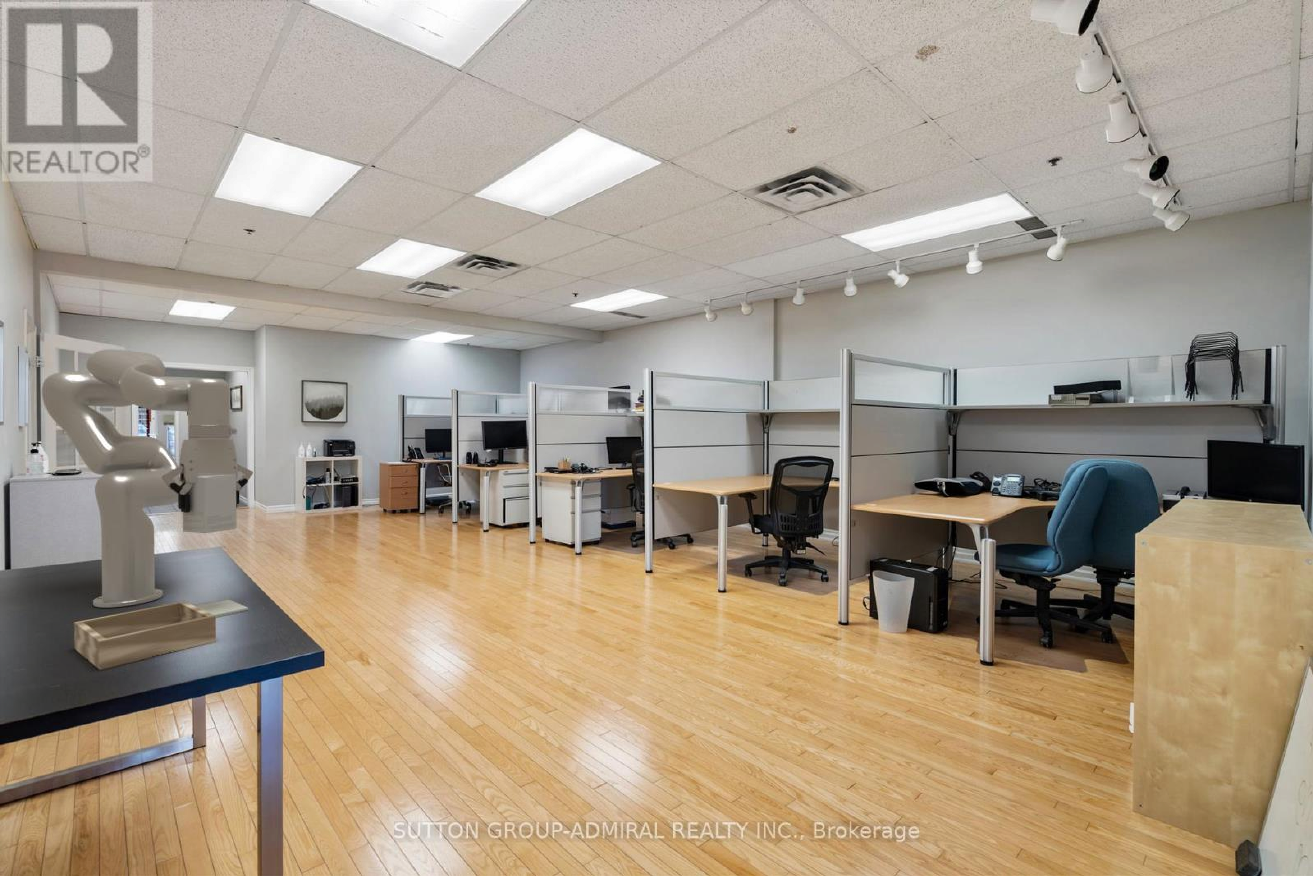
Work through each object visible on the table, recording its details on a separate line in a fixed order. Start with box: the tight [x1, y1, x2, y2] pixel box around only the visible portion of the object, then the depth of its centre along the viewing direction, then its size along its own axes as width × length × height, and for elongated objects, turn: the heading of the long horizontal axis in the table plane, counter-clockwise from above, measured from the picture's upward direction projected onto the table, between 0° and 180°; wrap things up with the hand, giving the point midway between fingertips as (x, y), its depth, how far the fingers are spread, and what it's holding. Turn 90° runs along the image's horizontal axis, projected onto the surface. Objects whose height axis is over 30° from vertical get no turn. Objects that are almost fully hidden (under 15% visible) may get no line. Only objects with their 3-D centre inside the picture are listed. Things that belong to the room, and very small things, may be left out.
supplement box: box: [182, 475, 238, 534], centre depth 134 cm, size 7×7×13 cm
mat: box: [194, 599, 249, 618], centre depth 135 cm, size 11×11×1 cm
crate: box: [73, 600, 217, 671], centre depth 114 cm, size 17×17×5 cm
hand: (209, 509), depth 134 cm, fingers closed on supplement box, 8 cm apart
